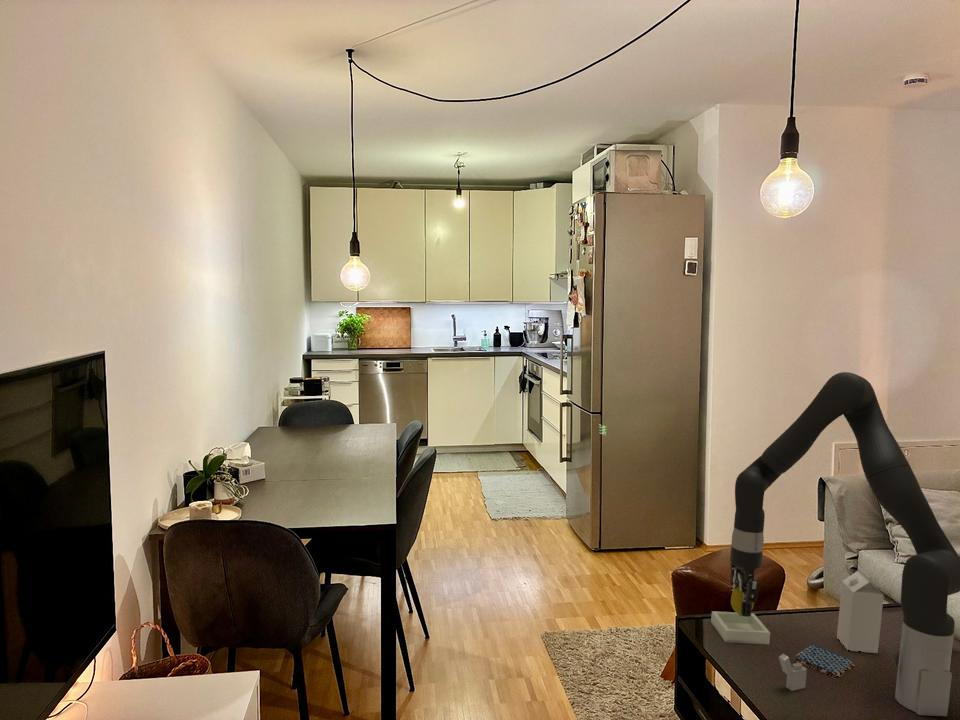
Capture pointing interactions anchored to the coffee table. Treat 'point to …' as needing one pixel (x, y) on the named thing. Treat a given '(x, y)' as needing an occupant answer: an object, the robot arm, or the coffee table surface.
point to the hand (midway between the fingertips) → (741, 610)
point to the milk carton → (860, 613)
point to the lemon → (737, 600)
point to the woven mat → (824, 660)
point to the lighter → (793, 673)
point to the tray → (740, 628)
